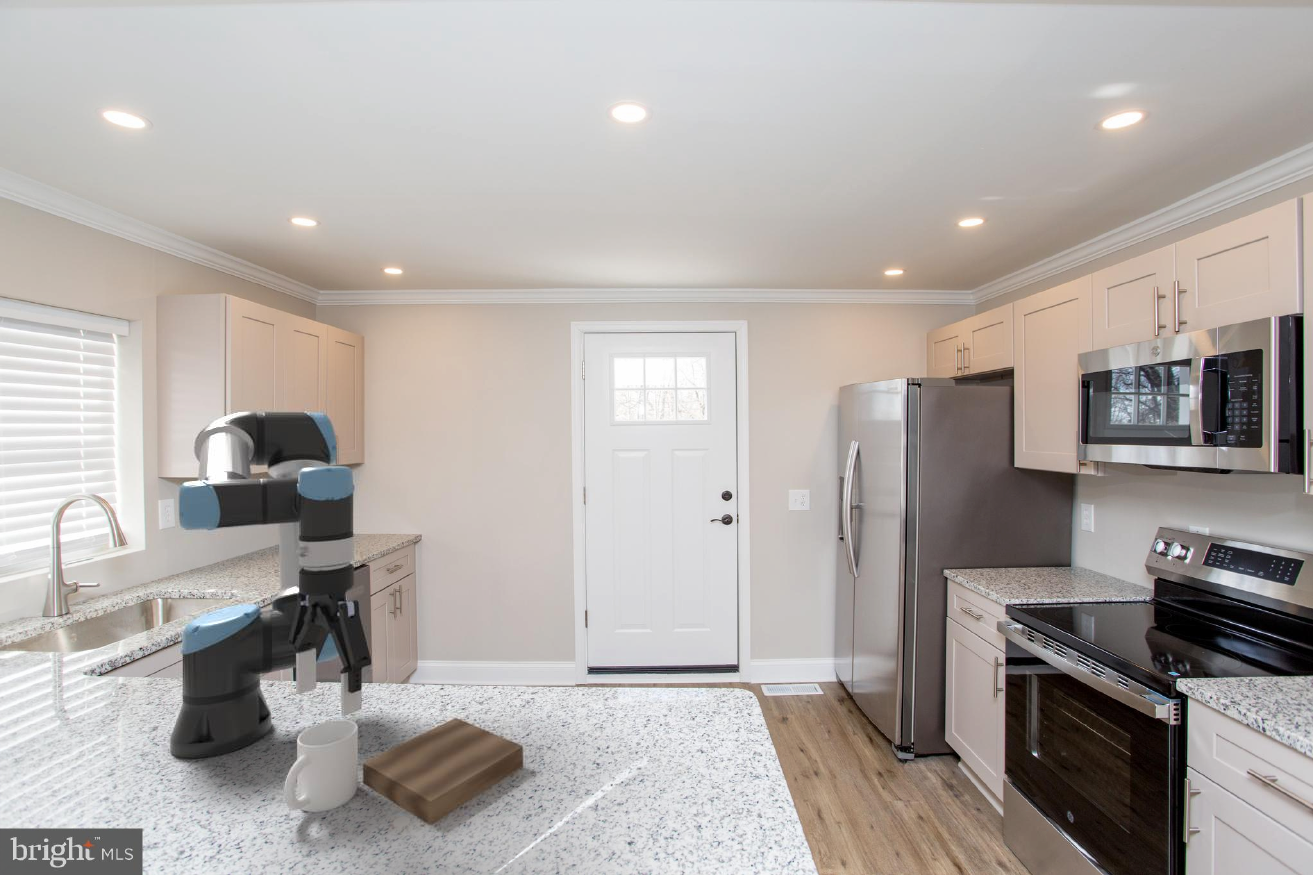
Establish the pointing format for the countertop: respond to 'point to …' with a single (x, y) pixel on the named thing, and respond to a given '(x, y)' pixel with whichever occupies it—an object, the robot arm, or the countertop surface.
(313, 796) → the mug
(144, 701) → the countertop surface
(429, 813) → the walnut block
